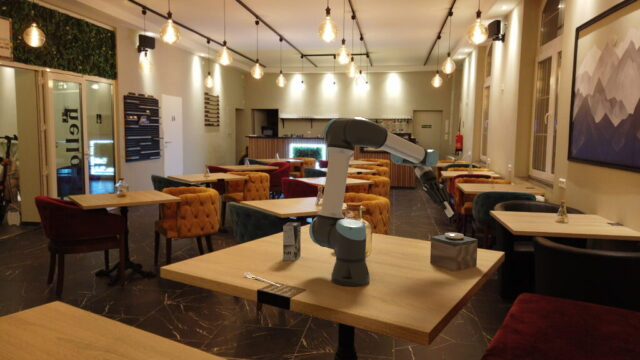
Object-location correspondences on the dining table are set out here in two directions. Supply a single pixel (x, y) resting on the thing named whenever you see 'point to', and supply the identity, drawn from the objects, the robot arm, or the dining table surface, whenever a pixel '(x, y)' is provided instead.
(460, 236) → the plunger
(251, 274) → the fork
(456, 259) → the socket block
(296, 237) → the coffee box
